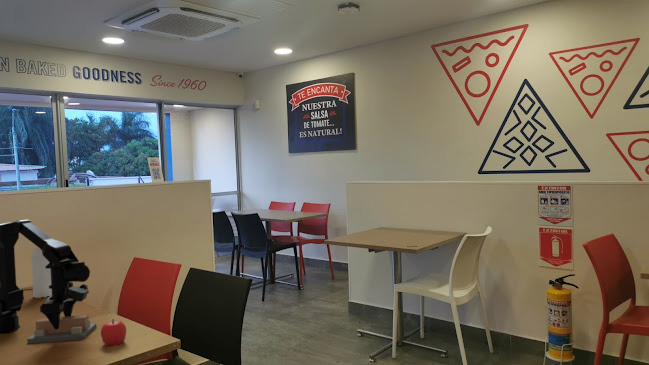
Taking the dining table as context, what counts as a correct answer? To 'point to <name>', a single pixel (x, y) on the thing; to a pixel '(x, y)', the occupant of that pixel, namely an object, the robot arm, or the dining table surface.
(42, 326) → the clay strip
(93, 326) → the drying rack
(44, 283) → the bottle
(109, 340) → the apple
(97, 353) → the dining table surface
